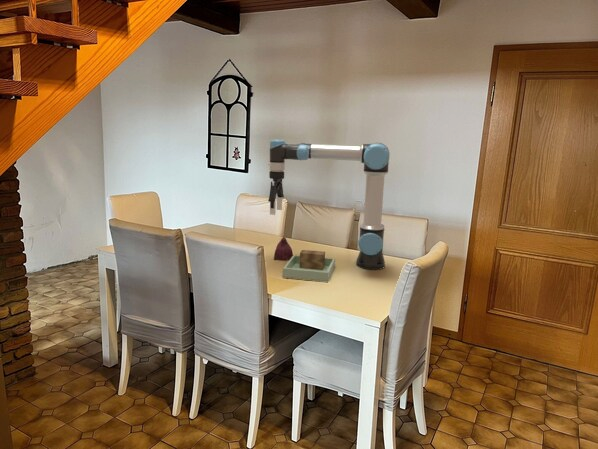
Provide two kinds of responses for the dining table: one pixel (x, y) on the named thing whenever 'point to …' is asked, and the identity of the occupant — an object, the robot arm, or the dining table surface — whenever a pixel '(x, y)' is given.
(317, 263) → the walnut block
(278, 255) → the vegetable
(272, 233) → the dining table surface
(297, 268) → the tray
